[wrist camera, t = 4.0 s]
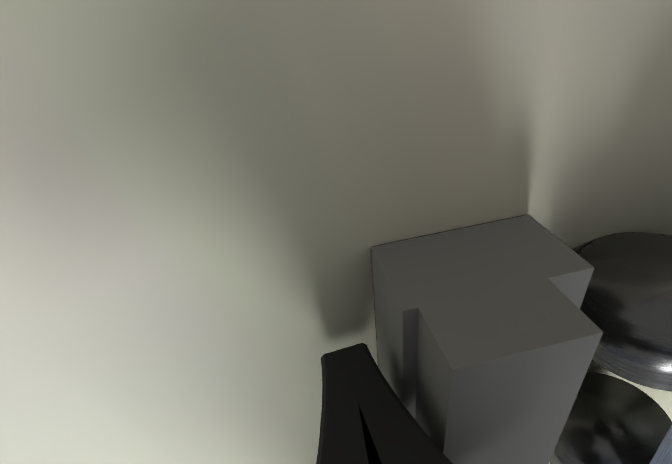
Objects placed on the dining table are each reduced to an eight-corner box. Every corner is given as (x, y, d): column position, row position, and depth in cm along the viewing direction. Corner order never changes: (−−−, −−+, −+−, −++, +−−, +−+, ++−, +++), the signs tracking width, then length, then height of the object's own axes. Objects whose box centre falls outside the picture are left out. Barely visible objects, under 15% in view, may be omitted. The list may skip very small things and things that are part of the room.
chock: (499, 355, 14) (579, 471, 11) (379, 385, 14) (424, 516, 10) (528, 214, 11) (657, 318, 7) (370, 246, 10) (433, 374, 7)
